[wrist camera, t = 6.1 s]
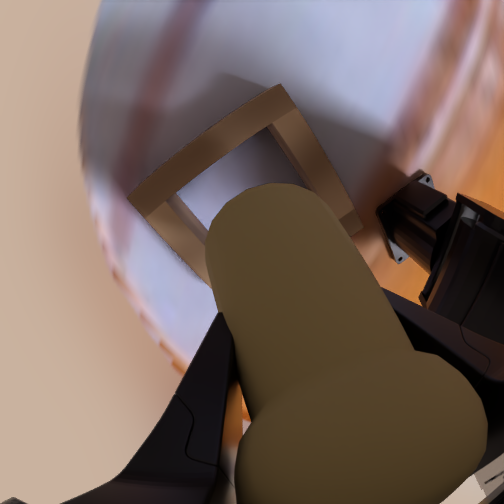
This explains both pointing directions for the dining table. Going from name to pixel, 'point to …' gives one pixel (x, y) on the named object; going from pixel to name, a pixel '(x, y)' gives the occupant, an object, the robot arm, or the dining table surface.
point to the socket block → (219, 144)
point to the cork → (330, 366)
